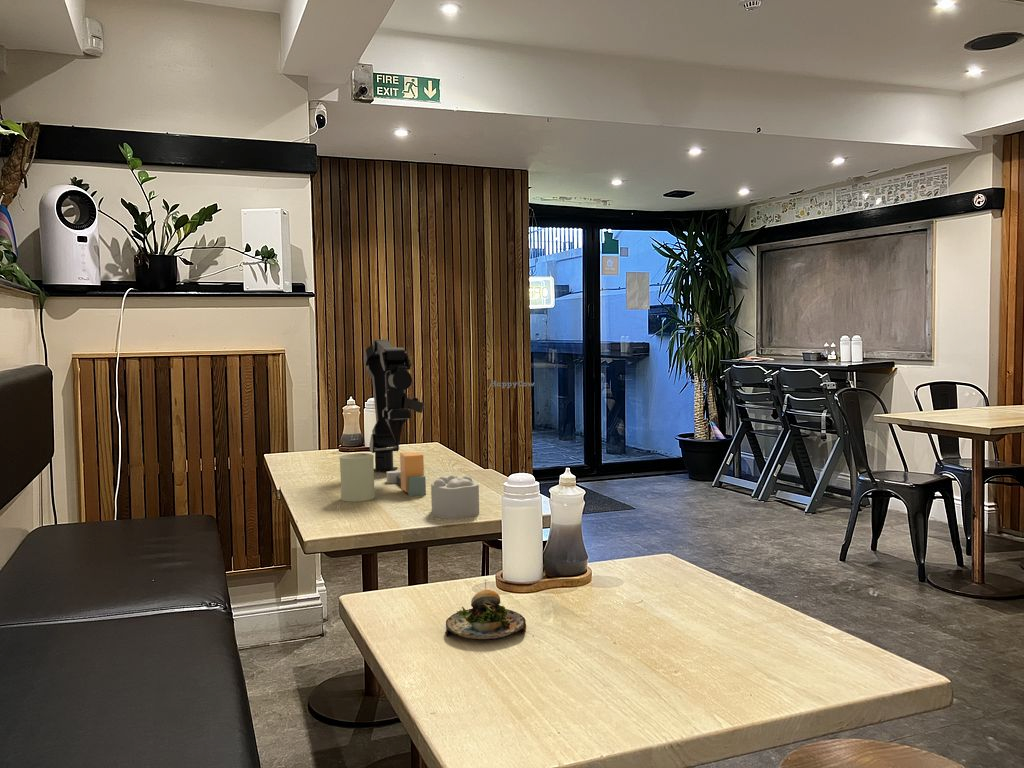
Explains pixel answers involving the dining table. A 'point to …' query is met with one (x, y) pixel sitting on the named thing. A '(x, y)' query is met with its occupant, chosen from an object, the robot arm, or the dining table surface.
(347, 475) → the can
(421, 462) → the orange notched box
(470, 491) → the lumpy-topped squat cylinder
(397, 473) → the toy mallet
